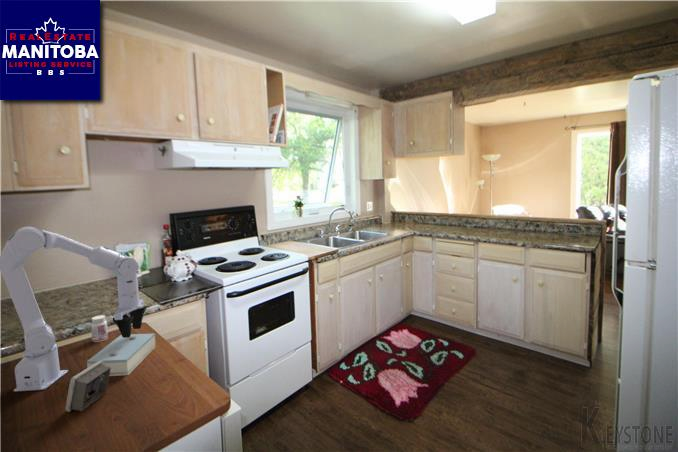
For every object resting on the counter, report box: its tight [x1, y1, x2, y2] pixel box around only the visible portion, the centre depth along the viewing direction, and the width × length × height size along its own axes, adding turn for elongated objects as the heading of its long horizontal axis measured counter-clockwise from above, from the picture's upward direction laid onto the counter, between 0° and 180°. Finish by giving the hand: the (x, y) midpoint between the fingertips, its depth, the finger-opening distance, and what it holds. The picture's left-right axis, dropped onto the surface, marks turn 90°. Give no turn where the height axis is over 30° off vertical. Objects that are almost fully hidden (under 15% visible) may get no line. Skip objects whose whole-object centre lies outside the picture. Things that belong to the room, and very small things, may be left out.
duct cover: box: [86, 333, 156, 365], centre depth 108 cm, size 18×11×1 cm, turn 5°
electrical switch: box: [65, 360, 111, 413], centre depth 87 cm, size 9×5×9 cm, turn 173°
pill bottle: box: [90, 314, 109, 343], centre depth 124 cm, size 5×5×8 cm
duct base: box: [86, 335, 157, 377], centre depth 108 cm, size 18×11×4 cm, turn 5°
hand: (132, 332), depth 113 cm, fingers open, 6 cm apart
